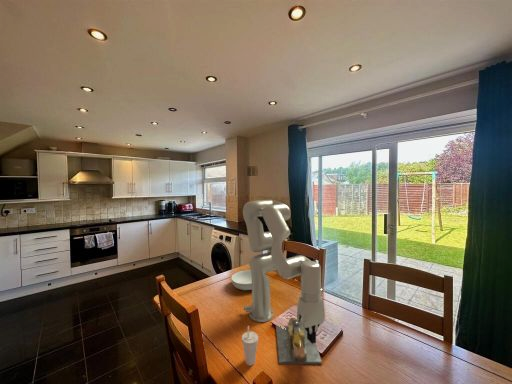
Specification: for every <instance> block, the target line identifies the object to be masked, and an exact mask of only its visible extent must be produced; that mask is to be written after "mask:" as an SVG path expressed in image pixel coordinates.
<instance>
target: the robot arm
mask: <svg viewBox="0 0 512 384" xmlns="http://www.w3.org/2000/svg"><path fill="white" fill-rule="evenodd" d="M291 213H292V212H291V209H290V207H289V205H287V204H285V203H283V202H280V201H278V200H275V199H257V200H251V201H248V202H246V203H245V204H244V205H243V208H242V215H243V220H244V222H245V225H246V229H247V230H246V231H247V236H248V237H247V238H248V244H249V248H250V251H251V252H253V253H260V254H256V255H254V256H252V257H251V258H250V259H249V261H248V262H249V263H248V265H249V270H250V271H251V278H252V289H251V301H252V302H251V304H250V305H244V306H243V310H244V311H245V313H248V314H249V318H250V319H251V320H253V321H254V322H257V323H265V322H266V323H267V322H269V321H270V320H272V319H273V318H274V310H273V309H272V308H271V281H270V278H269V277H268V276H267V274H268V273H269V272H272V271H276V272H277V273H278V274H279V276H280V277H281V278H282V279H284V280H290V279H293V278H295V277H298V276H300V297H299V299H298V302H297V308H296V309H297V311H296V320H297V321H298V322H300V324H299V328H300V330H306V331H307V339H308V340H309V341H310V342H311V343H312V344H313V343H317V333H318V330H319V327H320V326H321V325H322V324H324V322H325V316H326V315H325V306H324V305H325V303H324V300H323V297H322V293H323V292H324V290H323V288H322V267H321V265H320V264H319V262H317V261H314V260H311V259H310V258H308V257H306V256H304V255H301V254H299V255H295V256H292V257H289V258H286V257H285V255H284V253H283V249H282V247H283V241H284V240H286V239H287V238H288V237H289V236H290V235H291V230H290V228H289V226H288V224H287V223H286V221H289V220H290V218H291V215H292V214H291ZM260 217H262V218H263V220H264V222H265V225H266V226H267V229H268V231H264V225H263V223H262V221H261V220H260ZM265 251H267V252H265ZM262 252H265V253H262Z"/></svg>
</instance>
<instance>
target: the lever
mask: <svg viewBox="0 0 512 384" xmlns="http://www.w3.org/2000/svg"><path fill="white" fill-rule="evenodd" d="M299 324H300V322H298V321H297V319H296V320H293V321H292V329H293V331H294V346H295V347H300V346H301V335H300V333H299V331H300V328H299Z"/></svg>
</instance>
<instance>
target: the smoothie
mask: <svg viewBox="0 0 512 384" xmlns="http://www.w3.org/2000/svg"><path fill="white" fill-rule="evenodd" d="M241 342H242V346H243V353H244V359H245V363H246V365H247V366H254V365H255V363H256V359H257V358H256V357H257V348H258V342H259V335H258V334H257V332H254V331H250V325H247V332H246V331H245V332H244V333H243V334H242V335H241Z"/></svg>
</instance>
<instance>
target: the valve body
mask: <svg viewBox="0 0 512 384" xmlns="http://www.w3.org/2000/svg"><path fill="white" fill-rule="evenodd" d="M293 320H297V318H295V317H290V318H289V319H288V322H287V325H283V326H284V327H285V328H286V330H285V328H284V329H282V328H281V326H282V325H275V331H276V341H277V342H276V343H277V352H278V354H277V355H278V364H279V365H322V364H323V361H322V358H321V356H320V352H319V349H318V347H317V344H316V343H317V342H316V343H313V344H312V343H311V342H310V341H309V340H308V339H307V331H306V330H300V331H299V333H300V335H301V346H300V347H295V346H294V331H293V329H292V321H293ZM279 326H280V327H279ZM317 349H318V350H317Z"/></svg>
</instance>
